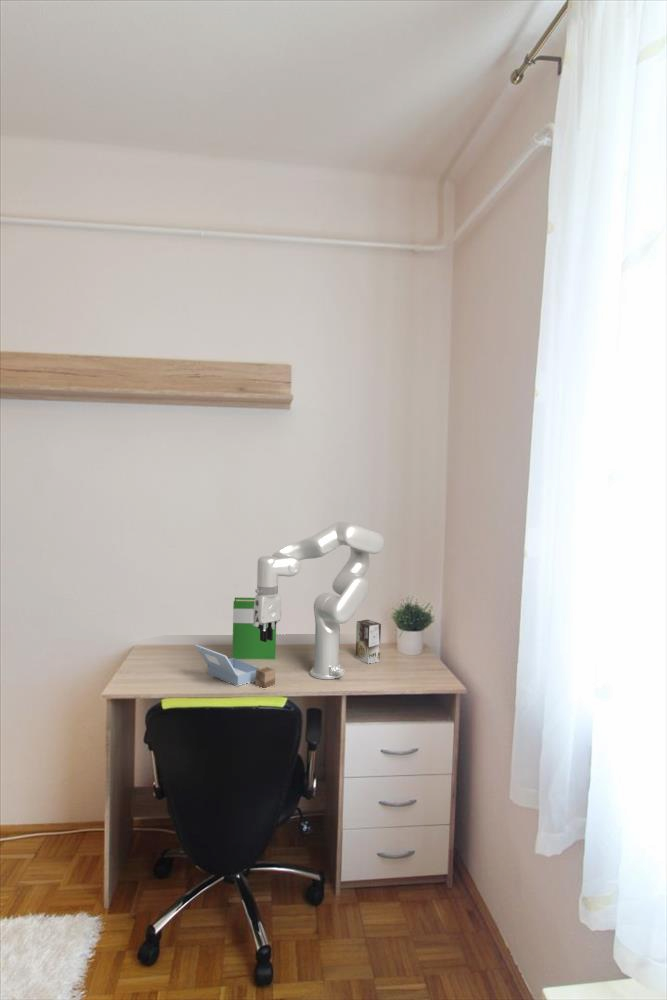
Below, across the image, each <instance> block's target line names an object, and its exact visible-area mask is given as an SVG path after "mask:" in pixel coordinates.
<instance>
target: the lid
mask: <svg viewBox="0 0 667 1000" xmlns="http://www.w3.org/2000/svg"><path fill="white" fill-rule="evenodd" d="M195 648H196V649H197V651H198V652H199V654H200V655H201V657H202V658H203V660H204V662H205V663H206V665H207V666H208V665H210V666H213V667H215V668H218V669H220V670H223V671H225V672H228V673H230V674H233V675H235V676H238V674H237V673H236V671H235V669H234V668H233V666H232V665H231V663H230V661H229V660H228V659H229V658H228V656H227V655H225V654H222V653H220V652H217V651H214V650H212V649H210V648H207V647H204V646H202V645H199V644H195Z"/></svg>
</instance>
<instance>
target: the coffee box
mask: <svg viewBox="0 0 667 1000" xmlns="http://www.w3.org/2000/svg"><path fill="white" fill-rule="evenodd" d="M381 630H382V624H381V623H379V622H377V621H373V620H372V619H371V620H370V619H363V620H358V621H356V634H355V635H356V637H355V659H356V658H357V659H356V660H358V659H359V660H358V661H360V660H361V662H363V661H364V662H363V663H365V662H366V663H365V664H367V663H368V664H367V665H370V664H369V663H371V664H376V663H375V662H377V663H380V660H381V658H380V657H381V655H380V654H381V634H382V633H381Z"/></svg>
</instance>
